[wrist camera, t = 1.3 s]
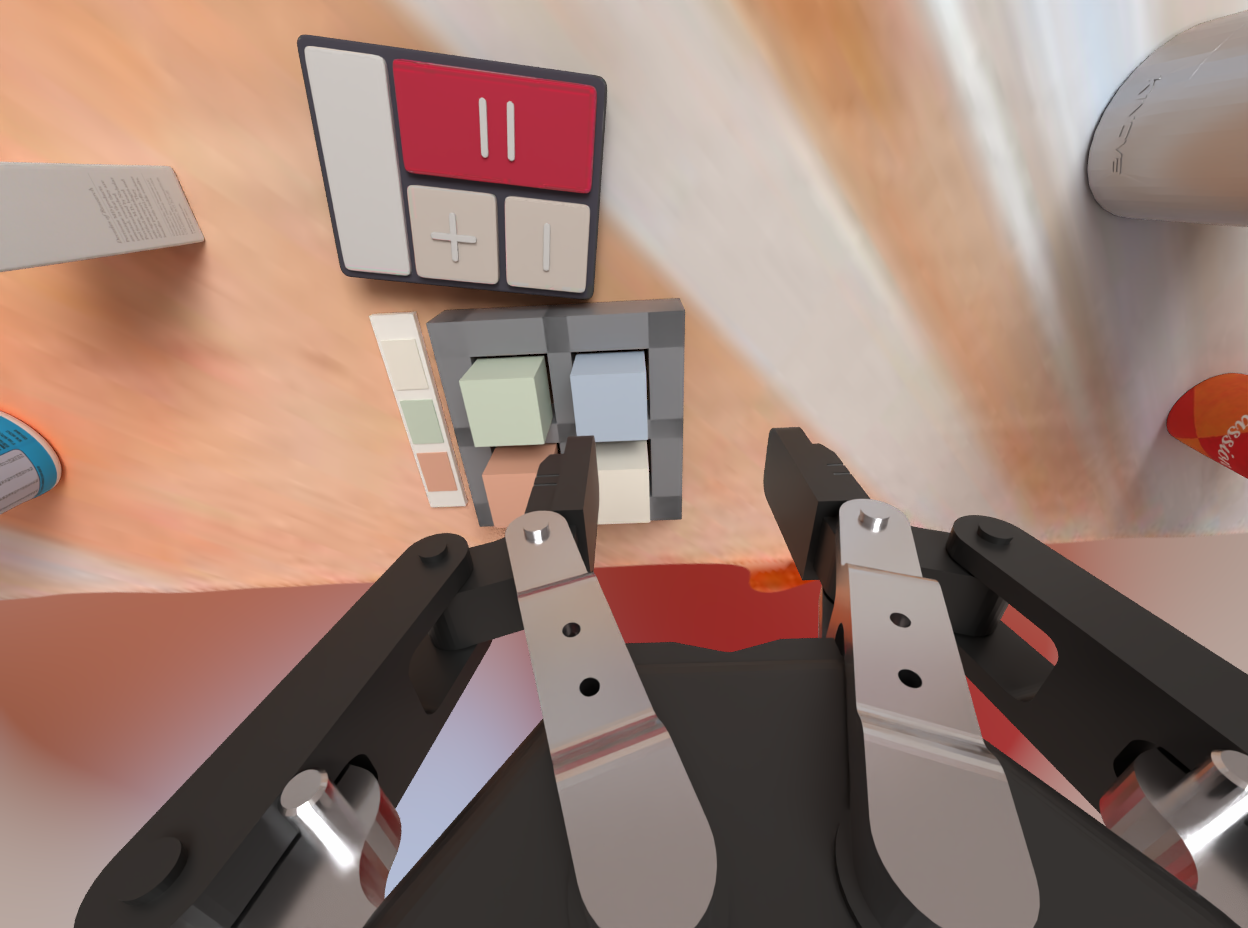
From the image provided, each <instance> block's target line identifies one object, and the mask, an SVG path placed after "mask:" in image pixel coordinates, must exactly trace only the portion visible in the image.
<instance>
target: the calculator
mask: <svg viewBox="0 0 1248 928" xmlns="http://www.w3.org/2000/svg"><path fill="white" fill-rule="evenodd" d="M297 46H298V52H299V58H300V63H301V68H302V73H303V78H304V83H305V88H306V94H307V99H308V104H309V109H310V114H311V119H312V124H313V130H314V135H315V140H316V145H317V150H318V155H319V161H320V166H321V171H322V176H323V181H324V186H325V191H326V197H327V202H328V207H329V212H330V217H331V222H332V227H333V233H334V238H335V243H336V248H337V253H338V258H339V263H340V268H341V270H342V272H343V273H344V274H345V275H346V276H349V277H357V278H367V279H378V280H388V281H398V282H409V283H419V284H429V285H440V286H450V287H460V288H471V289H481V290H491V291H502V292H512V293H522V294H533V295H543V296H553V297H564V298H574V299H590V298H591V297H592V295H593V292H594V279H595V265H596V250H597V235H598V220H599V205H600V190H601V175H602V160H603V145H604V130H605V115H606V100H607V84H606V82H605V80H604V79H603V78H602V77H600V76H596V75H589V74H582V73H575V72H568V71H561V70H554V69H546V68H539V67H532V66H525V65H518V64H511V63H504V62H497V61H490V60H483V59H476V58H469V57H461V56H454V55H447V54H440V53H433V52H426V51H419V50H412V49H405V48H398V47H391V46H384V45H376V44H369V43H362V42H355V41H348V40H341V39H334V38H327V37H320V36H312V35H301V36H300V37H299V38H298V40H297Z"/></svg>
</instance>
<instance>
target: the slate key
mask: <svg viewBox="0 0 1248 928" xmlns="http://www.w3.org/2000/svg"><path fill="white" fill-rule="evenodd" d="M570 381H571V389H572V398H573V407H574V415H575V424H576V433H577V436H591V435H594V438H595V442H609V441H633V440H648V424H647V387H646V366H645V356H644V351H631V352H610V353H589V354H576V357H575V361H574V364H573V367H572V371H571V374H570Z"/></svg>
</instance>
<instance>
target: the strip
mask: <svg viewBox="0 0 1248 928" xmlns="http://www.w3.org/2000/svg"><path fill="white" fill-rule="evenodd" d="M369 317H370V321H371V324H372V327H373V330H374V333H375V336H376V339H377V342H378V345H379V348H380V351H381V355H382V358H383V361H384V364H385V367H386V370H387V373H388V376H389V379H390V382H391V385H392V389H393V392H394V395H395V398H396V401H397V404H398V407H399V410H400V413H401V416H402V419H403V423H404V426H405V429H406V432H407V435H408V438H409V441H410V444H411V447H412V450H413V453H414V457H415V460H416V463H417V466H418V469H419V472H420V475H421V478H422V481H423V484H424V487H425V491H426V494H427V497H428V500H429V503H430V506H431V507H452V506H466V504H467V502H468V501H467V497H466V493H465V490H464V486H463V482H462V479H461V475H460V471H459V468H458V464H457V460H456V457H455V453H454V449H453V446H452V442H451V438H450V434H449V431H448V427H447V423H446V420H445V416H444V412H443V409H442V405H441V401H440V398H439V394H438V390H437V387H436V383H435V379H434V376H433V372H432V368H431V365H430V361H429V357H428V353H427V350H426V346H425V342H424V339H423V335H422V331H421V328H420V324H419V320H418V317H417V313H416V312H398V313H379V314H372V315H370V316H369Z"/></svg>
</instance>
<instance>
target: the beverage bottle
mask: <svg viewBox="0 0 1248 928" xmlns="http://www.w3.org/2000/svg"><path fill="white" fill-rule="evenodd" d="M60 477H61V464H60V461H59V459H58V457H57V455H56V453H55V451H54V450H53V448H52V447H51V446H50V445H49V443H48V442H47V441H46V440H45V439H44V438H43V437H42V436H41V435H40V434H38V433H37V432H36V431H35V430H34V429H32V428H31V427H30V426H28V425H27V424H25V423H24V422H22V421H20V420H18V419H17V418H15V417H13V416H11V415H9V414H6V413H4V412H2V411H0V514H2V513H4V512H6V511H8V510H10V509H12V508H13V507H15V506H17V505H19V504H21V503H23V502H26V501H28V500H30V499H33V498H35V497H38V496H40V495H42V494H44V493H45V492H47V491H49V490H51V489H52V488H53V487H55V486H56V485H57V483H58V482H59V480H60Z"/></svg>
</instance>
